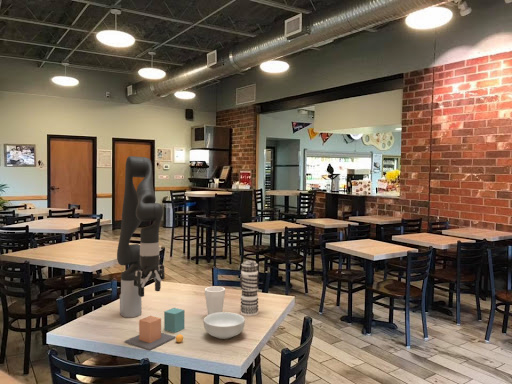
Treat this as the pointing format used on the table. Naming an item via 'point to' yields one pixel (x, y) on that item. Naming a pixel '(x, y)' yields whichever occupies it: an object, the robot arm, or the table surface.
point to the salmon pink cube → (150, 329)
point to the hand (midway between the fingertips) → (149, 293)
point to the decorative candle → (249, 288)
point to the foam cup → (214, 299)
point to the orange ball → (179, 338)
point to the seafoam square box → (174, 320)
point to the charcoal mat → (149, 346)
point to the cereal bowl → (224, 324)
